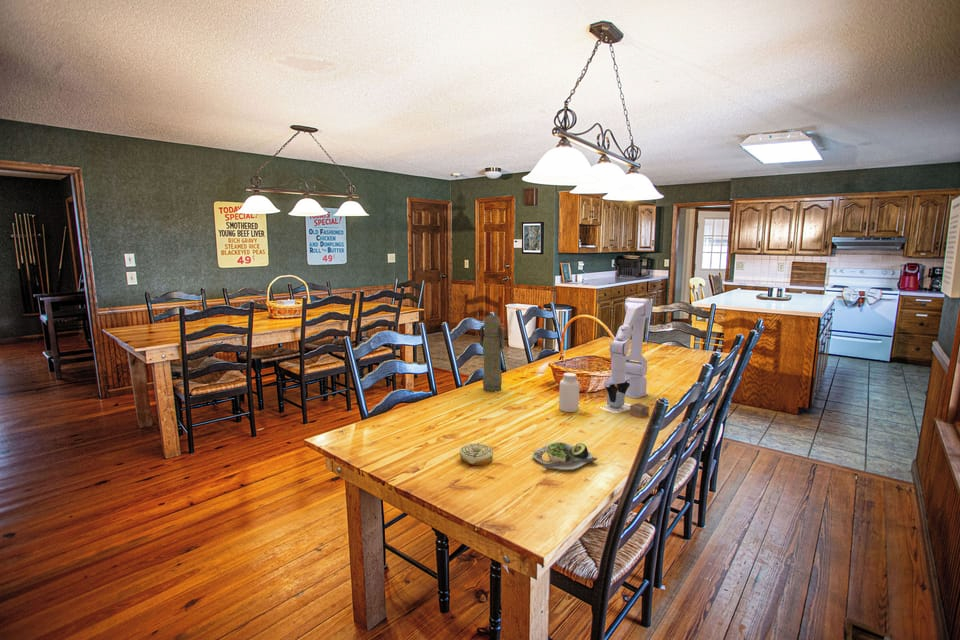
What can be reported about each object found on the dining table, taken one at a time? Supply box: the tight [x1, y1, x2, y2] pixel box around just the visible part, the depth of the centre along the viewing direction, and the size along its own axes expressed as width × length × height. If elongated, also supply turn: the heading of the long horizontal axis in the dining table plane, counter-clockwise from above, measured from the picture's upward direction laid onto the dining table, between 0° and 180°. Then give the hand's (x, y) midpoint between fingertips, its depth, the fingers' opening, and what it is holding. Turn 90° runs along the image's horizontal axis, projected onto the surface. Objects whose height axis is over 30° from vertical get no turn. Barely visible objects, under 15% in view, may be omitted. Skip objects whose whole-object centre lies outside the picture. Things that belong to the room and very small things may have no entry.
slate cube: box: [606, 391, 626, 407], centre depth 196 cm, size 5×5×5 cm
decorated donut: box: [459, 443, 494, 466], centre depth 149 cm, size 10×11×4 cm
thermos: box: [479, 314, 505, 393], centre depth 219 cm, size 9×12×35 cm
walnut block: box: [629, 402, 650, 419], centre depth 187 cm, size 5×5×4 cm
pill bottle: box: [558, 372, 580, 413], centre depth 193 cm, size 8×8×15 cm
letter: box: [596, 402, 631, 415], centre depth 196 cm, size 14×10×1 cm
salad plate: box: [532, 441, 598, 471], centre depth 148 cm, size 19×18×5 cm
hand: (616, 400), depth 196 cm, fingers closed on slate cube, 5 cm apart
